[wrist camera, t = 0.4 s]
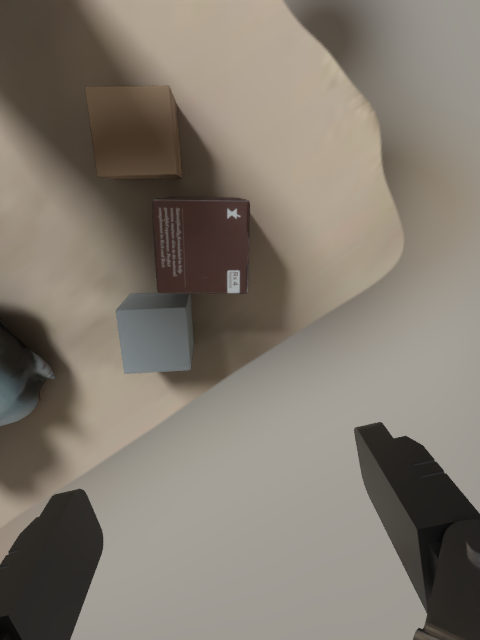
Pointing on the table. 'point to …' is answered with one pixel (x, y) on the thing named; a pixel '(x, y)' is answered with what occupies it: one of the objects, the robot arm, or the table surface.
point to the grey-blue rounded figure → (19, 377)
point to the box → (201, 244)
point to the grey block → (156, 332)
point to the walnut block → (134, 132)
